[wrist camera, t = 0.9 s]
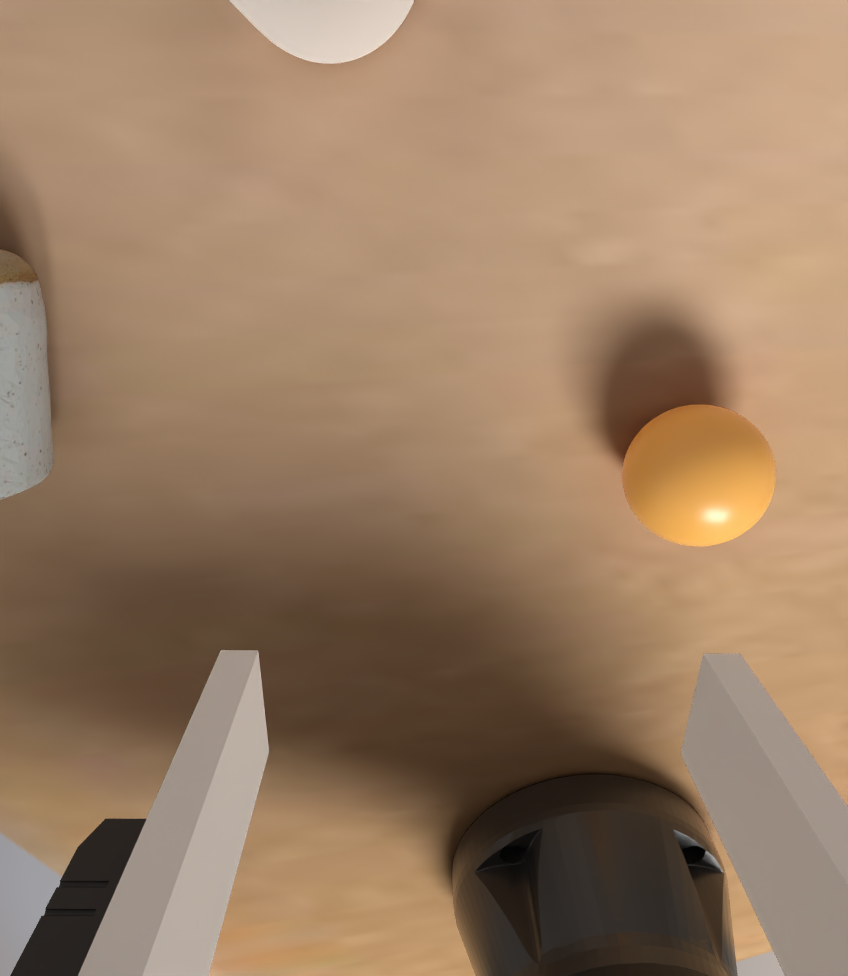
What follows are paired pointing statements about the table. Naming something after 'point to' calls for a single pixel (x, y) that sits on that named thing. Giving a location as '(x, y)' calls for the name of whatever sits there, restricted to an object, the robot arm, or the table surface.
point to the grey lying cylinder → (23, 379)
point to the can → (326, 25)
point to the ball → (699, 475)
